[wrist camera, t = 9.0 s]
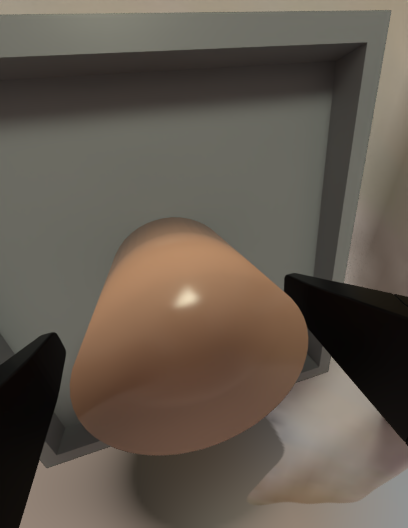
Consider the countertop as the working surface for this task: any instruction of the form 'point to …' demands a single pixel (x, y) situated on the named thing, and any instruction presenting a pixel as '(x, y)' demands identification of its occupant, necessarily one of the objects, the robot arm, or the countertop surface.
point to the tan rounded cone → (184, 344)
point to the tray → (174, 155)
